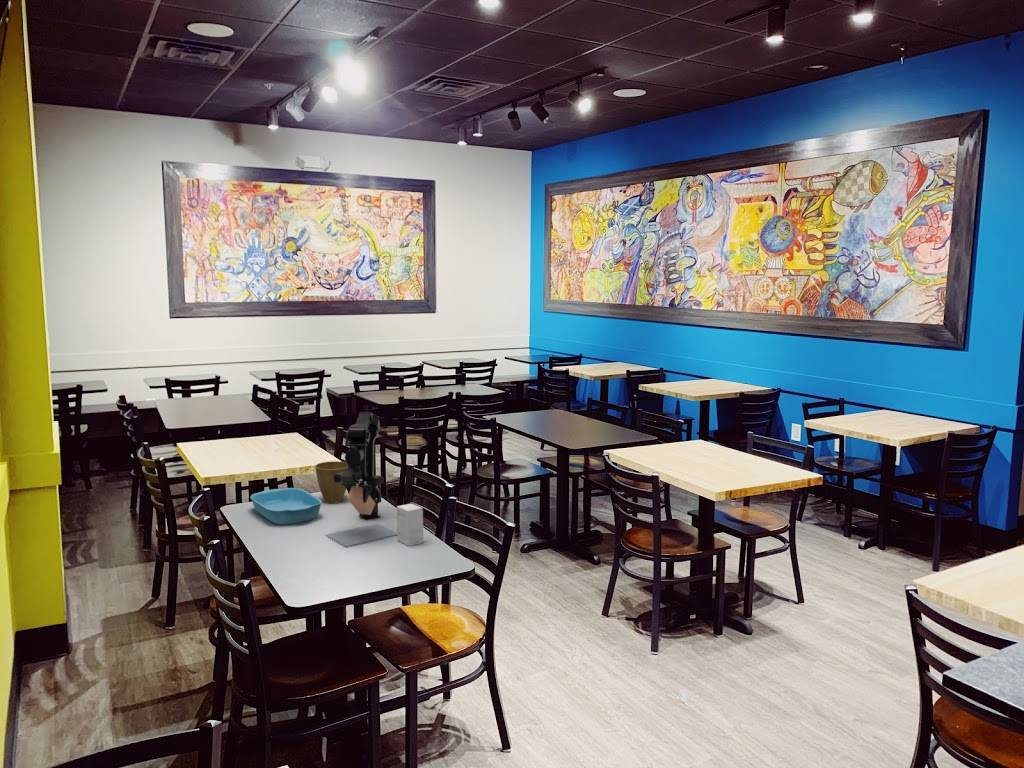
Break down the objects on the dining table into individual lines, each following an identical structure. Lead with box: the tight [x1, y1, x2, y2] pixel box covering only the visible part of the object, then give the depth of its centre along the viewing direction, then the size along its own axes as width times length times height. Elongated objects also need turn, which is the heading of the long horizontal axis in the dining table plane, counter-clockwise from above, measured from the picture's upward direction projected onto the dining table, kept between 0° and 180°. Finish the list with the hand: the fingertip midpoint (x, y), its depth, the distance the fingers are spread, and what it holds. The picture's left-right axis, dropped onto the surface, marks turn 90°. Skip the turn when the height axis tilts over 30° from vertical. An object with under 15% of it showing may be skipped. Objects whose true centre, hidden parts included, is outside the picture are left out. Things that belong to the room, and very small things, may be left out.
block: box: [346, 485, 376, 515], centre depth 289 cm, size 5×5×11 cm
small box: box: [396, 503, 424, 547], centre depth 282 cm, size 8×6×13 cm
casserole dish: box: [250, 487, 322, 525], centre depth 315 cm, size 37×22×7 cm, turn 35°
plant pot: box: [314, 460, 348, 504], centre depth 334 cm, size 15×15×16 cm
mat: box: [324, 523, 397, 548], centre depth 289 cm, size 22×16×1 cm
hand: (358, 502), depth 288 cm, fingers closed on block, 5 cm apart
